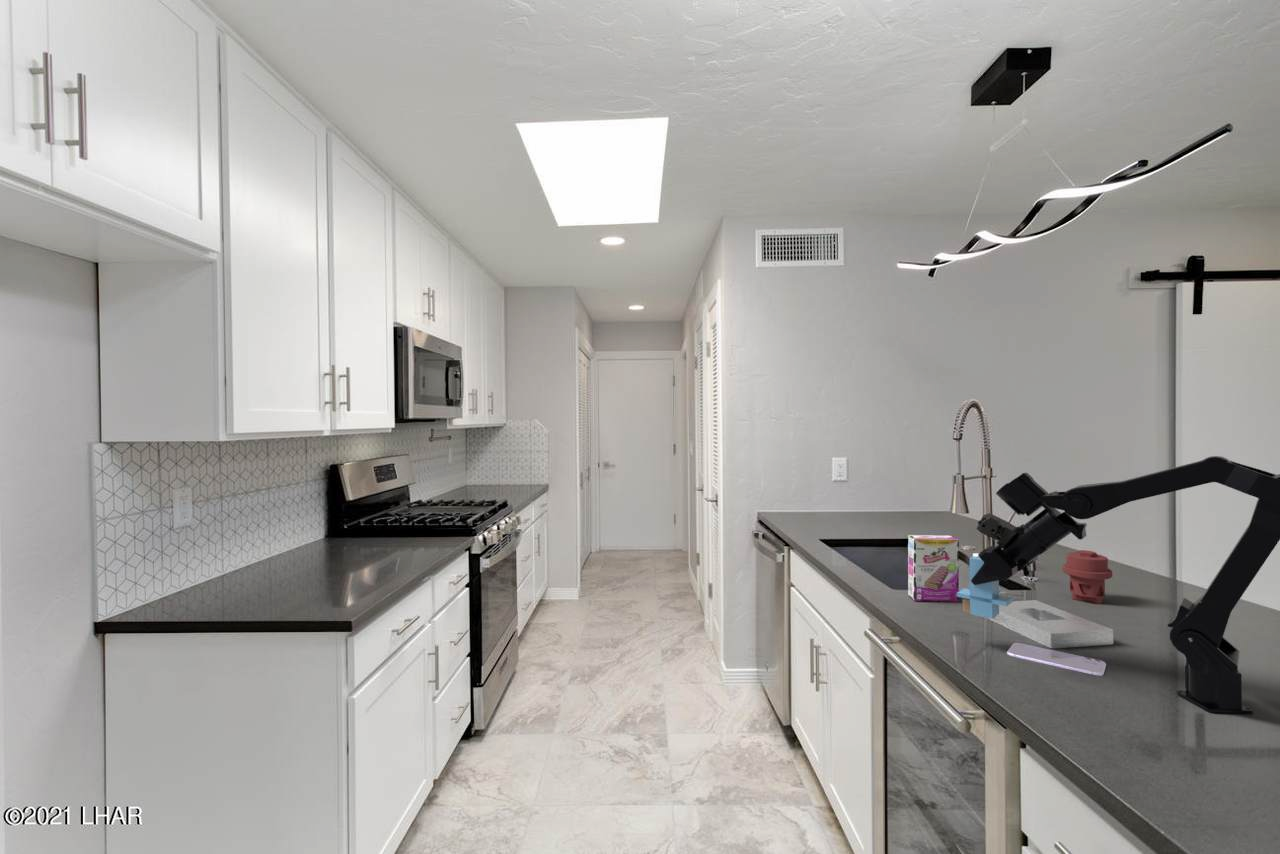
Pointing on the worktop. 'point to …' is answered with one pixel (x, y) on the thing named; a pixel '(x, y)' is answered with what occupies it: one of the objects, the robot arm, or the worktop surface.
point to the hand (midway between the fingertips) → (976, 580)
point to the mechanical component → (1087, 575)
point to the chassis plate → (1052, 625)
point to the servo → (982, 594)
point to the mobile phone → (1057, 659)
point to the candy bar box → (933, 568)
